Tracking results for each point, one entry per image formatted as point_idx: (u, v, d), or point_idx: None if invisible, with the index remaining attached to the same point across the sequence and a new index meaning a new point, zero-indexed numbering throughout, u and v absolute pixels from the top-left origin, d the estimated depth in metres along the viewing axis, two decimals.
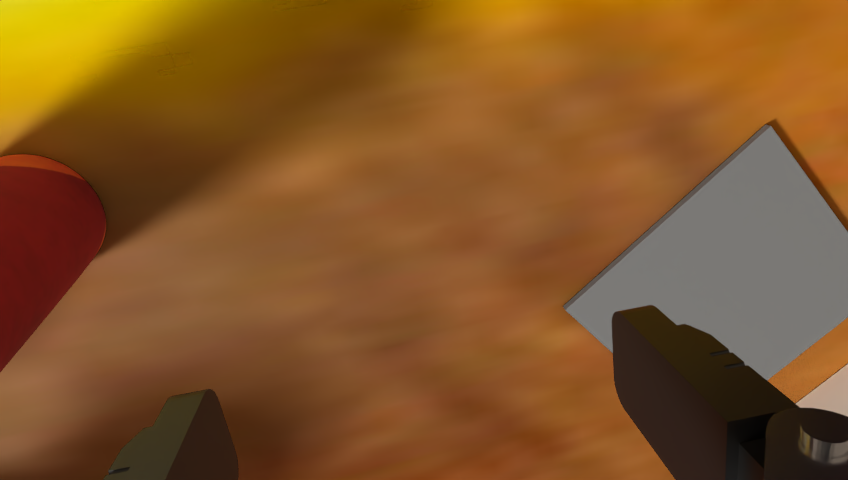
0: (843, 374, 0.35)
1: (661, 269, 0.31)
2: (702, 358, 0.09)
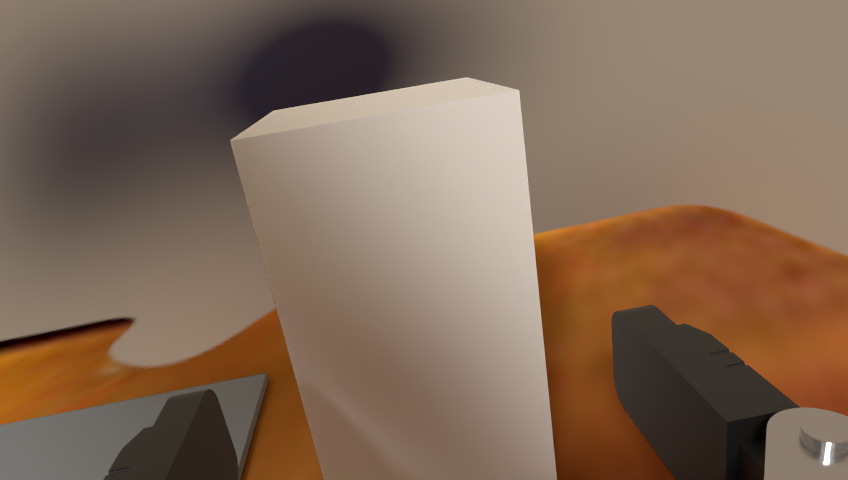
0: None
1: None
2: (702, 358, 0.09)
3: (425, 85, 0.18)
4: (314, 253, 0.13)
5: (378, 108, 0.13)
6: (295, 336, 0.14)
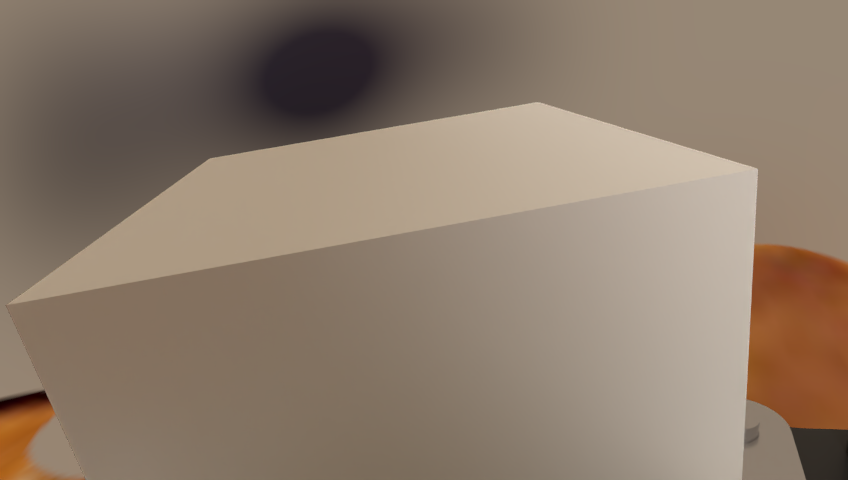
0: None
1: None
2: None
3: (469, 117, 0.10)
4: None
5: (395, 193, 0.06)
6: None
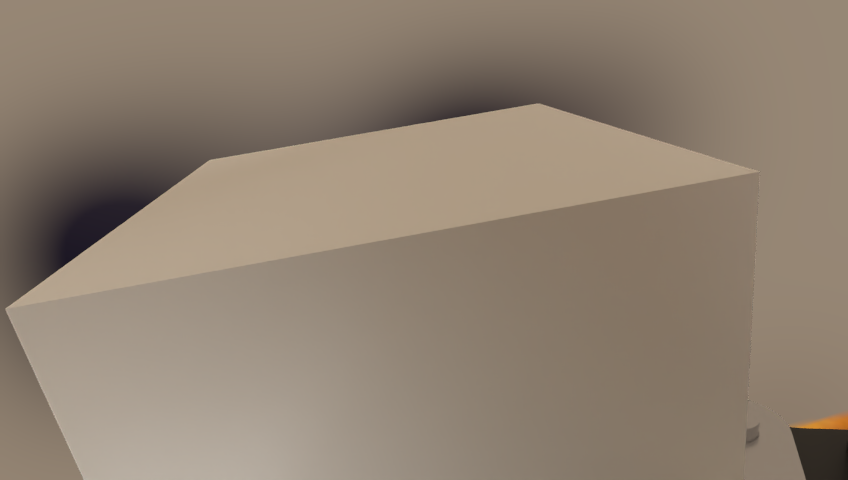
0: None
1: None
2: None
3: (470, 118, 0.10)
4: None
5: (395, 196, 0.06)
6: None
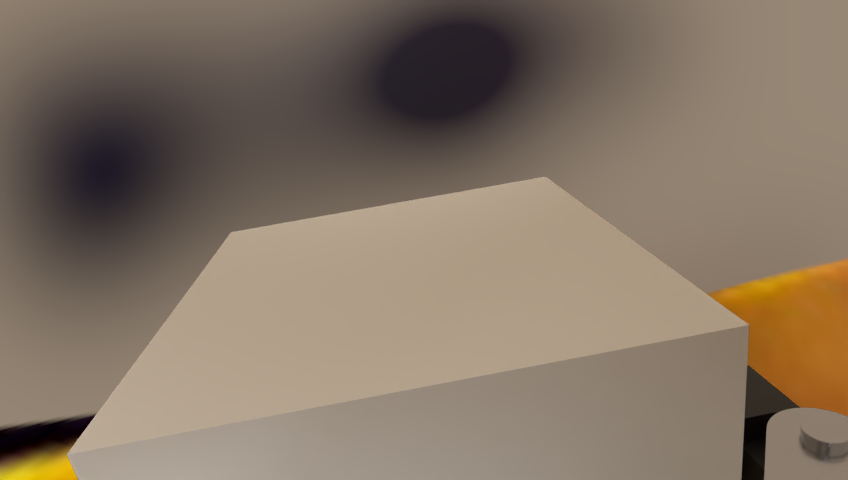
0: None
1: None
2: None
3: (479, 194, 0.11)
4: None
5: (413, 319, 0.06)
6: None
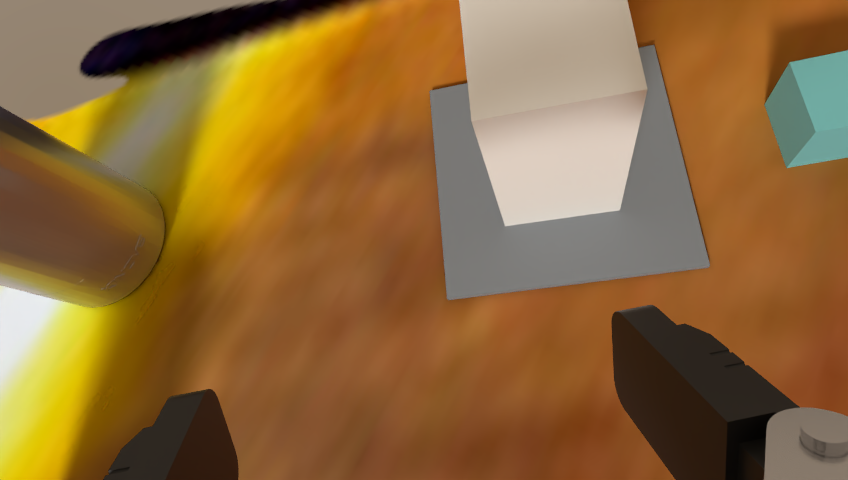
0: None
1: (476, 207, 0.33)
2: (702, 358, 0.09)
3: None
4: (509, 150, 0.24)
5: (553, 74, 0.21)
6: (494, 174, 0.26)
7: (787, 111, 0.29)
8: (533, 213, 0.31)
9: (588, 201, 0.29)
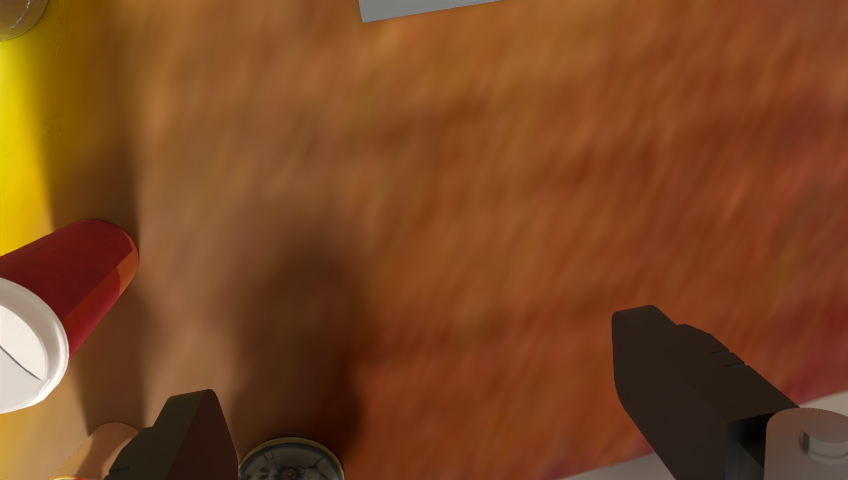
0: None
1: None
2: (702, 358, 0.09)
3: None
4: None
5: None
6: None
7: None
8: None
9: None
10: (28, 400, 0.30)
